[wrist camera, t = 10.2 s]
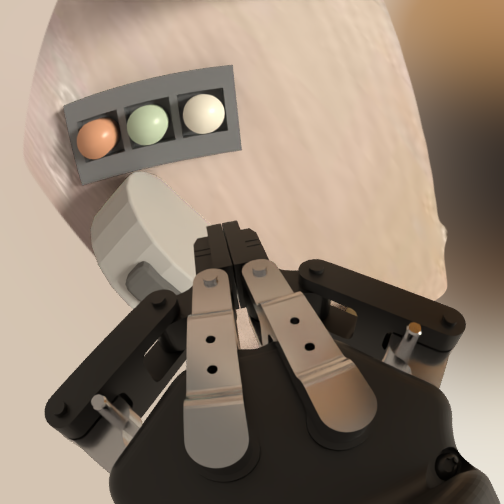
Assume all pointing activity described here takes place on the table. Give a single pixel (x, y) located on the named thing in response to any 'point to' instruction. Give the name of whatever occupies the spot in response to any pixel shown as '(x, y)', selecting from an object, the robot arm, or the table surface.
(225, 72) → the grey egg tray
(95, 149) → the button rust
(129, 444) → the robot arm
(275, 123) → the table surface
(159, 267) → the alarm clock
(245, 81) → the table surface
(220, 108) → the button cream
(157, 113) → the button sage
